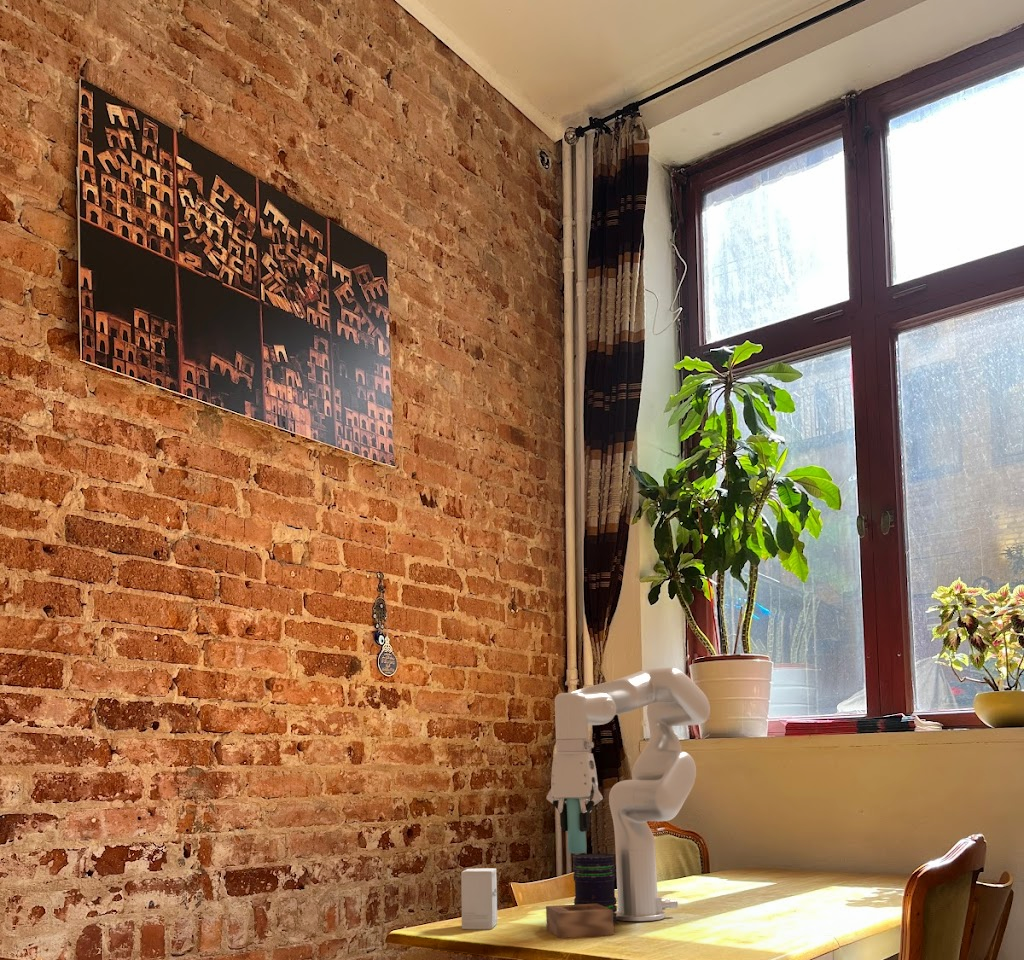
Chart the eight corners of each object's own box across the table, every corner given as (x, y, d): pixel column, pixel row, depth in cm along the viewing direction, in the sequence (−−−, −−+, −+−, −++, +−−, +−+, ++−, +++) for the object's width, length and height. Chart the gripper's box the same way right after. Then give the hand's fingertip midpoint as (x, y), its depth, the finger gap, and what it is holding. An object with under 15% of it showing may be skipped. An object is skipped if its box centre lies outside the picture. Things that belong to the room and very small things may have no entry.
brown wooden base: (598, 926, 256) (597, 903, 257) (613, 934, 245) (612, 910, 246) (546, 929, 253) (546, 906, 255) (560, 938, 242) (559, 913, 243)
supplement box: (492, 929, 256) (491, 871, 259) (460, 929, 257) (460, 871, 260) (498, 924, 263) (497, 867, 266) (467, 924, 264) (466, 867, 267)
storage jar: (574, 926, 257) (572, 858, 260) (574, 920, 266) (572, 854, 270) (618, 926, 256) (615, 857, 260) (616, 919, 266) (613, 853, 269)
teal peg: (583, 851, 256) (580, 787, 259) (588, 852, 252) (585, 787, 255) (566, 852, 255) (563, 788, 258) (571, 853, 251) (568, 788, 254)
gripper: (612, 746, 257) (616, 830, 253) (548, 748, 266) (551, 829, 261) (597, 747, 251) (601, 833, 247) (532, 748, 259) (534, 831, 255)
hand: (575, 830), depth 254 cm, fingers closed on teal peg, 4 cm apart
